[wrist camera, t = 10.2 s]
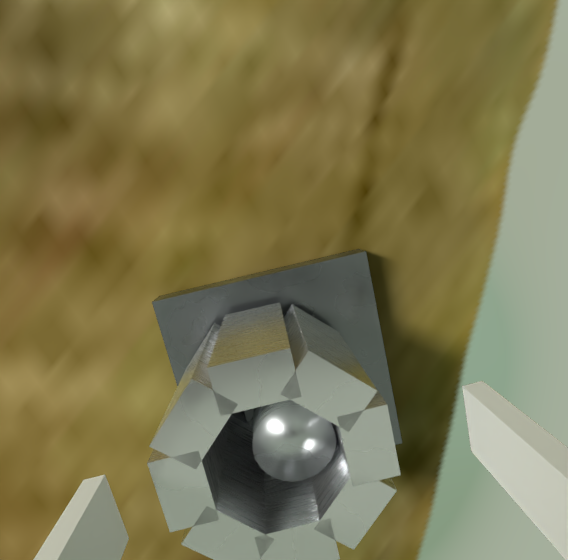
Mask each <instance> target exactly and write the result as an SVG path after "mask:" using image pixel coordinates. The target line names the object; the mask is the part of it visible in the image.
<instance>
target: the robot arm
mask: <svg viewBox="0 0 568 560" xmlns="http://www.w3.org/2000/svg"><path fill="white" fill-rule="evenodd" d="M462 389H463V396H464V403H465V409H466V417H467V424H468V431H469V439H470V446H471V452H472V453H473V454H474V455H475V456H476V457H477V459H478V460H479V461H480V462H481V463H482V464H483V466H484V467H485V468H486V469H487V470H488V471H489V472H490V473H491V474H492V476H493V477H494V478H495V479H496V480H497V482H498V483H499V484H500V485H501V486H502V487H503V488H504V490H505V491H506V492H507V493H508V494H509V495H510V497H511V498H512V499H513V500H514V501H515V502H516V503H517V504H518V505H519V507H520V508H521V509H522V510H523V511H524V513H525V514H526V515H527V516H528V517H529V518H530V520H531V521H532V522H533V523H534V524H535V525H536V526H537V528H538V529H539V530H540V531H541V532H542V533H543V534H544V536H545V537H546V538H547V539H548V540H549V541H550V543H551V544H552V545H553V546H554V547H555V548H556V549H557V551H558V552H559V553H560V554H561V555H562V556H563V557H564V558H565V560H568V447H566V446H565V445H564V444H563V443H561V442H560V441H559V440H558V439H556V438H555V437H553V436H552V435H551V434H550V433H548V432H547V431H546V430H545V429H543V428H542V427H541V426H540V425H538V424H537V423H536V422H535V421H533V420H532V419H531V418H529V417H528V416H527V415H525V414H524V413H523V412H522V411H520V410H519V409H518V408H517V407H515V406H514V405H513V404H511V403H510V402H509V401H508V400H506V399H505V398H504V397H502V396H501V395H500V394H499V393H497V392H496V391H495V390H493V389H492V388H491V387H490V386H488V385H487V384H486V383H485V382H483V381H480V382H476V383H472V384H468V385H464V386H462ZM128 539H129V537H128V534H127V532H126V529H125V526H124V524H123V521H122V519H121V516H120V513H119V511H118V508H117V505H116V503H115V500H114V497H113V495H112V492H111V489H110V487H109V484H108V481H107V479H106V476H105V475H101V476H97V477H93V478H89V479H85V480H83V482H82V483H81V485H80V486H79V488H78V490H77V491H76V493H75V494H74V496H73V498H72V499H71V501H70V502H69V504H68V506H67V507H66V509H65V510H64V512H63V514H62V515H61V517H60V518H59V520H58V522H57V523H56V525H55V526H54V528H53V530H52V531H51V533H50V534H49V536H48V537H47V539H46V541H45V542H44V544H43V545H42V547H41V549H40V550H39V552H38V553H37V555H36V557H35V558H34V560H121V557H122V555H123V552H124V550H125V547H126V544H127V542H128Z"/></svg>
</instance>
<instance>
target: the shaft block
mask: <svg viewBox="0 0 568 560" xmlns="http://www.w3.org/2000/svg"><path fill="white" fill-rule="evenodd" d="M279 302H280V305H281V309H282V314H283V318H284V316H285V315H286V313H287V311H288V310H289V308H290V307H291V305H292V304H293V305H294V306H296V307H298V308H299V309H301V310H303V311H304V312H306V313H308V314H309V315H311V316H313V317H314V318H316V319H318V320H319V321H321V322H323V323H324V324H326V325H328V326H329V327H331V328H333V329H334V330H336V331H338V332H339V334H340V335H341V337H342V338H343V340H344V341H345V342H346V343H347V345H348V346H349V348H350V349H351V351H352V352H353V354H354V355H355V357H356V358H357V360H358V361H359V363H360V364H361V366H362V367H363V369H364V370H365V372H366V373H367V375H368V376H369V378H370V379H371V381H372V382H373V384H374V385H375V387H376V388H377V390H378V391H379V393H380V394H381V396H382V397H383V399H384V400H385V402H386V403H387V406H388V411H389V416H390V421H391V427H392V432H393V437H394V442H395V445H397V444H401V443H402V439H401V433H400V428H399V423H398V417H397V412H396V407H395V402H394V396H393V391H392V386H391V381H390V375H389V370H388V365H387V359H386V354H385V349H384V344H383V338H382V333H381V328H380V323H379V317H378V312H377V307H376V301H375V296H374V291H373V286H372V280H371V275H370V270H369V265H368V259H367V254H366V251H364V250H361V249H356V250H352V251H348V252H343V253H339V254H335V255H331V256H327V257H322V258H318V259H314V260H310V261H305V262H301V263H297V264H293V265H289V266H284V267H280V268H276V269H272V270H267V271H263V272H259V273H255V274H251V275H246V276H242V277H238V278H234V279H229V280H225V281H221V282H217V283H213V284H208V285H204V286H200V287H196V288H192V289H187V290H183V291H179V292H175V293H170V294H166V295H162V296H159V297H158V298H156V299H155V300H154V301H153V302H152V303H153V307H154V310H155V313H156V317H157V320H158V323H159V327H160V330H161V333H162V336H163V340H164V343H165V346H166V350H167V353H168V356H169V360H170V363H171V366H172V369H173V373H174V376H175V379H176V383H177V386H178V385H179V383H180V381H181V378H182V376H183V374H184V372H185V370H186V368H187V366H188V365H189V363H190V362H191V360H192V358H193V357H194V355H195V353H196V352H197V350H198V349H199V347H200V345H201V344H202V342H203V341H204V339H205V337H206V336H207V334H208V332H209V331H210V329H211V328H212V326H213V324H214V323H216V324H218V325H220V326H221V325H222V322H223V319H224V316H225V315H228V314H232V313H236V312H241V311H245V310H249V309H253V308H258V307H262V306H266V305H270V304H274V303H279ZM232 415H234V416H235V417H237V418H239V419H241V420H243V421H245V422H247V423H248V424H250V425H252V426H253V443H252V445H253V453H254V457H255V459H256V461H257V463H258V465H259V466H260V467H261V468H262V469H263V470H264V471H265V472H266V473H267V474H269V475H270V476H272V477H274V478H276V479H279V480H283V481H301V480H305V479H308V478H311V477H313V476H315V475H316V474H318V473H319V472H321V471H322V470H323V469H324V468H325V467H326V466H327V465H328V463H329V462H330V460H331V458H332V456H333V454H334V451H335V445H336V438H335V433H334V429H333V427H332V424H331V422H330V421H328V420H326V419H324V418H323V417H321V416H319V415H317V414H315V413H314V412H312V411H310V410H308V409H306V408H305V407H303V406H301V405H299V404H297V403H296V402H294V401H292V400H286V401H282V402H278V403H274V404H269V405H265V406H261V407H257V408H253V409H249V410H245V411H241V412H236V413H232Z"/></svg>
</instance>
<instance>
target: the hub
mask: <svg viewBox="0 0 568 560" xmlns="http://www.w3.org/2000/svg"><path fill="white" fill-rule="evenodd" d="M286 400H292V401H294V402H296V403H297V404H299V405H301V406H303V407H305V408H306V409H308V410H310V411H312V412H314V413H315V414H317V415H319V416H321V417H323V418H324V419H326V420H328V421H330V422H331V424H332V427H333V429H334V433H335V438H336V445H335V451H334V454H333V456H332V458H331V460H330V462H329V463H328V465H327V466H326V467H325V468H324V469H323V470H322V471H321V472H319V473H318V474H316V475H315V476H313V477H311V478H308V479H305V480H301V481H283V480H279V479H276V478H274V477H272V476H270V475H269V474H267V473H266V472H265V471H264V470H263V469H262V468H261V467H260V466H259V465H258V463H257V461H256V459H255V457H254V453H253V445H252V443H253V426H252V425H250V424H248V423H247V422H245V421H243V420H241V419H239V418H237V417H235V416H234V415H232V413H236V412H241V411H245V410H249V409H253V408H257V407H261V406H265V405H269V404H274V403H278V402H282V401H286ZM150 447H152V448H154V449H153V451H152V454H151V456H150V458H149V460H148V463H147V464H148V467H149V470H150V473H151V476H152V479H153V482H154V485H155V488H156V491H157V494H158V497H159V500H160V503H161V506H162V509H163V512H164V515H165V518H166V521H167V524H168V527H169V530H170V532H173V531H177V530H181V529H185V530H184V535H183V539H182V543H181V544H182V545H184V546H186V547H188V548H190V549H192V550H194V551H197V552H199V553H201V554H203V555H205V556H207V557H209V558H212V559H214V560H260V559H261V560H337V559H340V557H339V553H338V549H337V544H336V541H338V542H340V543H342V544H344V545H346V546H348V547H350V548H352V549H355V547H356V546H357V545H358V543H359V542H360V541H361V539H362V538H363V536H364V535H365V534H366V532H367V531H368V530H369V528H370V527H371V525H372V524H373V523H374V521H375V520H376V519H377V517H378V516H379V514H380V513H381V512H382V510H383V509H384V508H385V506H386V505H387V503H388V502H389V501H390V499H391V498H392V497H393V495H394V494H395V492H396V491H397V490H396V488H395V486H394V484H393V482H392V480H391V478H390V477H394V476H398V475H401V474H400V469H399V463H398V458H397V453H396V448H395V442H394V437H393V432H392V427H391V421H390V416H389V411H388V406H387V403H386V402H385V400H384V399H383V397H382V396H381V394H380V393H379V391H378V390H377V388H376V387H375V385H374V384H373V382H372V381H371V379H370V378H369V376H368V375H367V373H366V372H365V370H364V369H363V367H362V366H361V364H360V363H359V361H358V360H357V358H356V357H355V355H354V354H353V352H352V351H351V349H350V348H349V346H348V345H347V343H346V342H345V341H344V340H343V338H342V337H341V335H340V334H339V332H338V331H336V330H334V329H333V328H331V327H329V326H328V325H326V324H324V323H323V322H321V321H319V320H318V319H316V318H314V317H313V316H311V315H309V314H308V313H306V312H304V311H303V310H301V309H299V308H298V307H296V306H294V305H293V304H292V305H291V307H290V308H289V310H288V311H287V313H286V315H285V316H284V318H283V314H282V309H281V305H280V302H279V303H274V304H270V305H266V306H262V307H258V308H253V309H249V310H245V311H241V312H236V313H232V314H228V315H225V316H224V319H223V322H222V325H221V326H220V325H218V324H216V323H214V324H213V326H212V328H211V329H210V331H209V332H208V334H207V336H206V337H205V339H204V341H203V342H202V344H201V345H200V347H199V349H198V350H197V352H196V353H195V355H194V357H193V358H192V360H191V362H190V363H189V365H188V366H187V368H186V370H185V372H184V374H183V376H182V378H181V381H180V383H179V385H178V387H177V389H176V391H175V393H174V395H173V397H172V400H171V402H170V404H169V406H168V408H167V410H166V412H165V414H164V416H163V419H162V421H161V423H160V425H159V427H158V429H157V431H156V433H155V435H154V438H153V440H152V442H151V444H150Z"/></svg>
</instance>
